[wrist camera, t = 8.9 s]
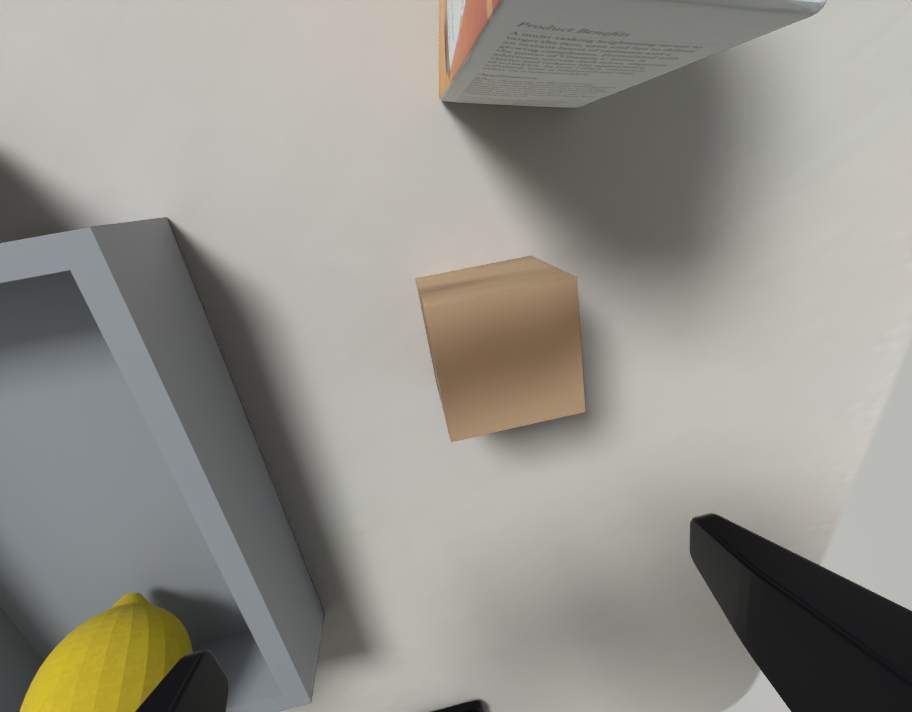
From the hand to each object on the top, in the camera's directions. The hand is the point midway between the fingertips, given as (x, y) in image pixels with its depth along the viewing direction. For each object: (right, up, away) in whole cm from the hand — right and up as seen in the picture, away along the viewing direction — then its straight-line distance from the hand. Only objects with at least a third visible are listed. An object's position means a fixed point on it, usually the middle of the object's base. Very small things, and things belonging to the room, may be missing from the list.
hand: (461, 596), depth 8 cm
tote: (-16, -2, +12) cm, 20 cm away
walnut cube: (+1, +6, +11) cm, 13 cm away
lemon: (-15, -6, +12) cm, 20 cm away
